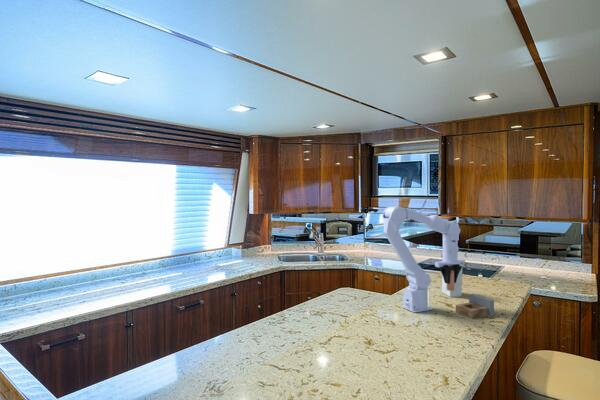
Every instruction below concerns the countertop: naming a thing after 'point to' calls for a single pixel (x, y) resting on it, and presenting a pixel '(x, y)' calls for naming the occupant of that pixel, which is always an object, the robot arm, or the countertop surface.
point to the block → (471, 310)
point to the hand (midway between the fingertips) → (450, 282)
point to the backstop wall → (483, 303)
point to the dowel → (451, 282)
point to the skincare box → (457, 286)
